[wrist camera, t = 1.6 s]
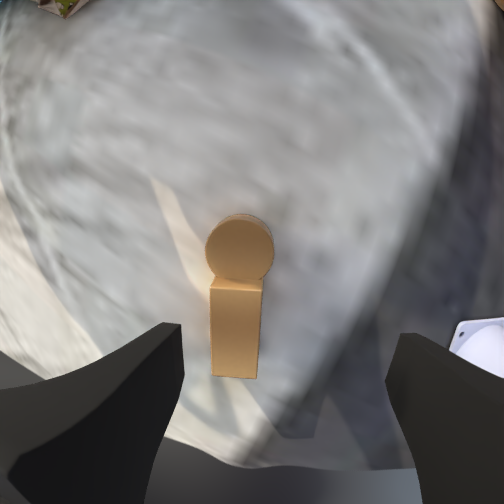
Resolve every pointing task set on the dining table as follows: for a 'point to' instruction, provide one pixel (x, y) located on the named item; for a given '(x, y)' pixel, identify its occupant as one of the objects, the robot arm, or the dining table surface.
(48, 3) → the bear figurine
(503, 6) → the stone fragment
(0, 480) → the robot arm
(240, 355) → the disc-topped wooden post
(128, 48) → the dining table surface
